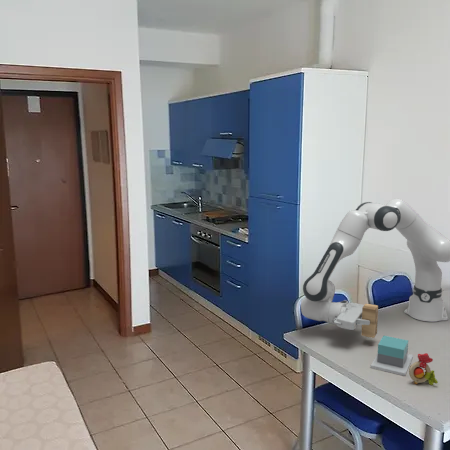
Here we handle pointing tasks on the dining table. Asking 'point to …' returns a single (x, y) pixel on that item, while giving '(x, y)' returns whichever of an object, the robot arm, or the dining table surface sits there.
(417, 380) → the bird rattle
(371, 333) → the oak brick
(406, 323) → the dining table surface
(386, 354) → the brick tower
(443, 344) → the dining table surface
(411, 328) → the dining table surface
